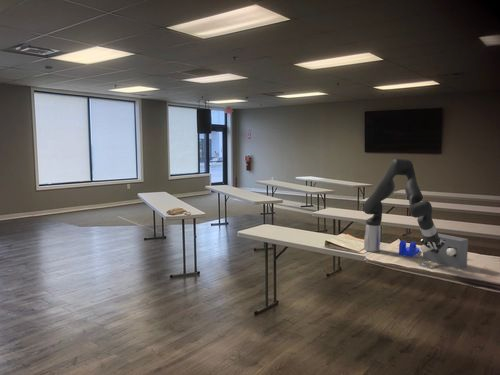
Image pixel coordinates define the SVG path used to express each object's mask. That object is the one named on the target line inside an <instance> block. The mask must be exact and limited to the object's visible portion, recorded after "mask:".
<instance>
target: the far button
mask: <svg viewBox="0 0 500 375" xmlns="http://www.w3.org/2000/svg"><path fill="white" fill-rule="evenodd" d="M427 245H428V244H427ZM420 250H421V252H422V253H423V252H427V251H430V250H433V249H432V248H428V247H426V246H425V245H423V244H422V245H421V246H420Z"/></svg>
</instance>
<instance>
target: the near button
mask: <svg viewBox="0 0 500 375" xmlns="http://www.w3.org/2000/svg"><path fill="white" fill-rule="evenodd" d="M456 251H457V248H448V249H447V251H446V252H447V254H448V255H449V256H453V255H456Z"/></svg>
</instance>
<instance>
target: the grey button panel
mask: <svg viewBox="0 0 500 375" xmlns="http://www.w3.org/2000/svg"><path fill="white" fill-rule="evenodd" d="M438 236H439V238H440V239H441V240H442V241H443V240H445V244H444V246H443V247H442V248H440V249H439V253H435V252H433V250H430V251H427V252H423V251H422V260H423V261H425V262H429V261H431V262H430V263H433V262H434V264H437V263H438V265H442V266H445V267H449V268H453V269H457V270H462V269H464V268H467V265H468V250H469V248H468V247H469V239H468V238H464V237H460V236H453V235H448V234H443V233H439V232H438ZM439 244H440V242H439V243H438V245H439ZM422 245H424V244H422ZM448 248H457V251H456V255H453V256H449V255H448V254H447V252H446V251H447V249H448Z"/></svg>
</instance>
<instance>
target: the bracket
mask: <svg viewBox="0 0 500 375" xmlns="http://www.w3.org/2000/svg"><path fill="white" fill-rule="evenodd" d="M420 250H421V248H419V247H417V242H416V241H411V242H410V243H409V246H407V241H406V240H404V239H403V240H402V239H401V240H400V241H399V246H398V255H399V256H401V257H403V256H404V257H408V256H409V257H408V258H414V257H415V256H417V255H418V254H419V253H420ZM416 254H417V255H416ZM413 256H414V257H413Z"/></svg>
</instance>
